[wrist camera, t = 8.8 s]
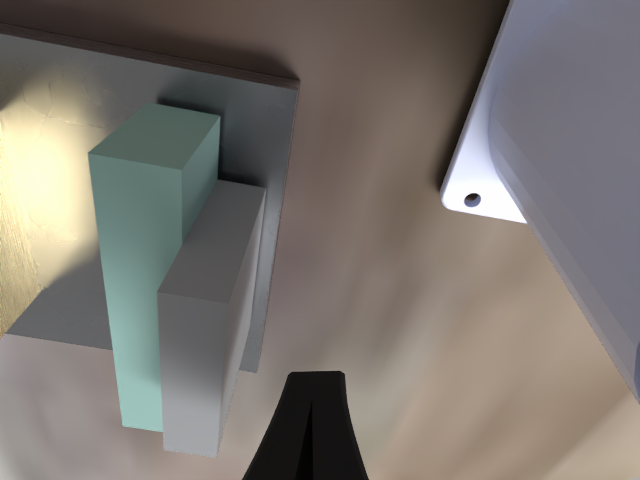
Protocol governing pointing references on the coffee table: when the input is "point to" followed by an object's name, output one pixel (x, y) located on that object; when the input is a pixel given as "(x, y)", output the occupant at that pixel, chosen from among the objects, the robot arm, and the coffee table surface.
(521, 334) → the coffee table surface
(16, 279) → the brass block
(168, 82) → the grey slab
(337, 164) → the coffee table surface
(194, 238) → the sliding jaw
